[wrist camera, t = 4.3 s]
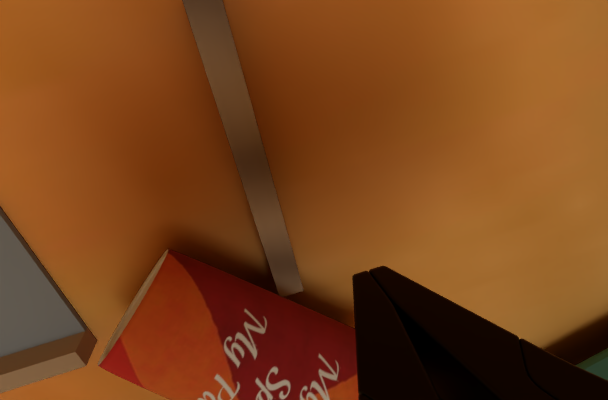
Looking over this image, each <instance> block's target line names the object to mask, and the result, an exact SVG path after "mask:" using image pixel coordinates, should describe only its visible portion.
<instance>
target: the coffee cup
mask: <svg viewBox="0 0 608 400" xmlns="http://www.w3.org/2000/svg"><path fill="white" fill-rule="evenodd" d="M98 366H100V367H101V368H103V369H105V370H107V371H109V372H111V373H113V374H115V375H117V376H119V377H121V378H123V379H125V380H128V381H130V382H132V383H134V384H136V385H138V386H141V387H143V388H145V389H147V390H150V391H152V392H154V393H156V394H159V395H161V396H163V397H165V398H168V399H170V400H358V396H359V394H358V380H357V360H356V340H355V328H352V327H350V326H347V325H345V324H343V323H341V322H338V321H336V320H334V319H331V318H329V317H327V316H325V315H322V314H320V313H318V312H316V311H313V310H311V309H309V308H306V307H304V306H302V305H300V304H297V303H295V302H293V301H291V300H288V299H286V298H284V297H281V296H279V295H277V294H275V293H272V292H270V291H268V290H265V289H263V288H261V287H259V286H256V285H254V284H252V283H249V282H247V281H245V280H243V279H240V278H238V277H236V276H233V275H231V274H229V273H226V272H224V271H222V270H219V269H217V268H215V267H212V266H210V265H208V264H205V263H203V262H200V261H198V260H196V259H193V258H191V257H188V256H186V255H183V254H181V253H178V252H175V251H173V250H169V249H167V250H166V251H165V252H164V254H163V255H162V256H161V258H160V259H159V260H158V262H157V263H156V265H155V266H154V268H153V269H152V271H151V272H150V274H149V275H148V277H147V278H146V280H145V281H144V283H143V284H142V286H141V288H140V289H139V291H138V292H137V294H136V296H135V297H134V299H133V301H132V302H131V304H130V306H129V307H128V309H127V311H126V312H125V314H124V316H123V317H122V319H121V321H120V322H119V324H118V326H117V328H116V329H115V331H114V333H113V335H112V337H111V338H110V340H109V342H108V344H107V346H106V348H105V350H104V352H103V354H102V356H101V358H100V360H99V363H98Z"/></svg>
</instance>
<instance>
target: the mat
mask: <svg viewBox="0 0 608 400" xmlns="http://www.w3.org/2000/svg"><path fill="white" fill-rule="evenodd" d="M96 342H97V340H96V339H95V338H94V336H93V335H92V333H91V332H90V331H89V329H88V328H87V326H86V325H85V324H84V322H83V321H82V320H81V318H80V317H79V315H78V314H77V313H76V311H75V310H74V308H73V307H72V306H71V304H70V303H69V302H68V300H67V299H66V297H65V296H64V295H63V293H62V292H61V290H60V289H59V288H58V286H57V285H56V284H55V282H54V281H53V279H52V278H51V277H50V275H49V274H48V272H47V271H46V270H45V268H44V267H43V266H42V264H41V263H40V261H39V260H38V259H37V257H36V256H35V254H34V253H33V252H32V250H31V249H30V248H29V246H28V245H27V243H26V242H25V241H24V239H23V238H22V236H21V235H20V234H19V232H18V231H17V230H16V228H15V227H14V225H13V224H12V223H11V221H10V220H9V218H8V217H7V216H6V214H5V213H4V212H3V210H2V209H1V207H0V393H2V392H6V391H9V390H12V389H15V388H18V387H21V386H25V385H28V384H31V383H34V382H37V381H40V380H43V379H47V378H50V377H53V376H56V375H59V374H62V373H65V372H69V371H72V370H75V369H78V368H81V367H84V366H86V365H87V363H88V360H89V358H90V356H91V354H92V351H93V349H94V347H95V344H96Z"/></svg>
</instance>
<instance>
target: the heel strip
mask: <svg viewBox="0 0 608 400" xmlns="http://www.w3.org/2000/svg"><path fill="white" fill-rule="evenodd" d="M182 1H183V4H184V7H185V10H186V13H187V16H188V19H189V22H190V25H191V28H192V31H193V34H194V37H195V41H196V44H197V47H198V50H199V53H200V56H201V59H202V62H203V65H204V68H205V71H206V74H207V77H208V80H209V83H210V86H211V89H212V92H213V95H214V98H215V102H216V105H217V108H218V111H219V114H220V117H221V120H222V123H223V126H224V129H225V132H226V135H227V138H228V141H229V144H230V147H231V150H232V153H233V156H234V159H235V163H236V166H237V169H238V172H239V175H240V178H241V181H242V184H243V187H244V190H245V193H246V196H247V199H248V202H249V205H250V208H251V211H252V214H253V217H254V220H255V224H256V227H257V230H258V233H259V236H260V239H261V242H262V245H263V248H264V251H265V254H266V257H267V260H268V263H269V266H270V269H271V272H272V275H273V278H274V281H275V285H276V288H277V291H278V294H279V296H281V297H285V296H288V295H291V294H294V293H298V292H301V291H304V290H303V286H302V283H301V279H300V275H299V272H298V268H297V265H296V261H295V258H294V254H293V250H292V247H291V243H290V240H289V236H288V233H287V229H286V225H285V222H284V218H283V215H282V211H281V208H280V204H279V200H278V197H277V193H276V190H275V186H274V183H273V179H272V175H271V172H270V168H269V165H268V161H267V158H266V154H265V150H264V147H263V143H262V140H261V136H260V133H259V129H258V125H257V122H256V118H255V115H254V111H253V108H252V104H251V101H250V97H249V93H248V90H247V86H246V83H245V79H244V76H243V72H242V68H241V65H240V61H239V58H238V54H237V51H236V47H235V43H234V40H233V36H232V33H231V29H230V26H229V22H228V18H227V15H226V11H225V8H224V4H223V1H222V0H182Z"/></svg>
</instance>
